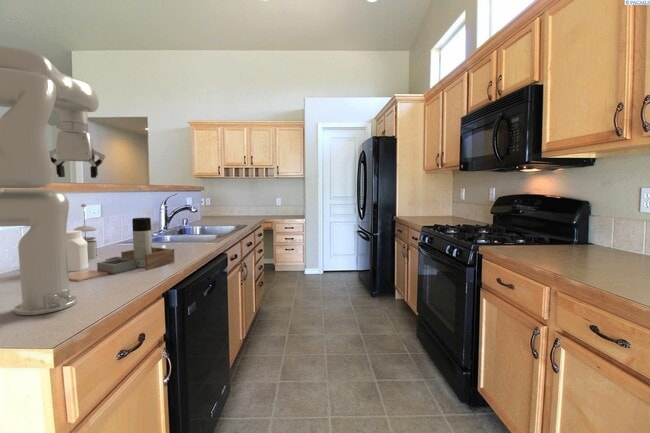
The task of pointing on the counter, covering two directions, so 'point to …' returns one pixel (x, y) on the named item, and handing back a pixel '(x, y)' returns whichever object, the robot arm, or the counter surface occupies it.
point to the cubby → (153, 257)
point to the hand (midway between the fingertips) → (77, 177)
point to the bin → (116, 266)
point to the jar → (76, 251)
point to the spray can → (141, 239)
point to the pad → (86, 275)
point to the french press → (90, 244)
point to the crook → (112, 258)
